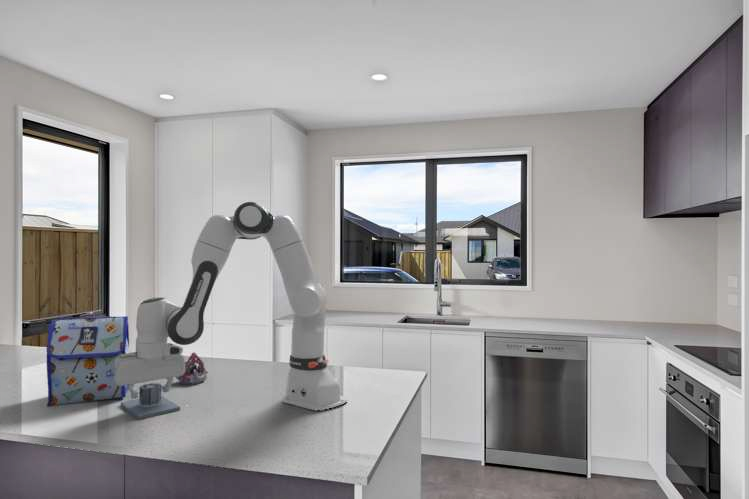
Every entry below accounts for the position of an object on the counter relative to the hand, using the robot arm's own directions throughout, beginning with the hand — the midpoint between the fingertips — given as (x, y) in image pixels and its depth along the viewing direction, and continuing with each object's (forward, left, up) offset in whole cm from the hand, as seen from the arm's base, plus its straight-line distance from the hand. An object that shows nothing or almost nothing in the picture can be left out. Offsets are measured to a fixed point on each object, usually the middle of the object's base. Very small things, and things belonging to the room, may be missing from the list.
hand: (150, 394), depth 142 cm
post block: (0, 0, -4) cm, 4 cm away
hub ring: (0, 0, -2) cm, 2 cm away
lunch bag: (+23, +11, -4) cm, 26 cm away
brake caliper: (+20, -22, -4) cm, 30 cm away
